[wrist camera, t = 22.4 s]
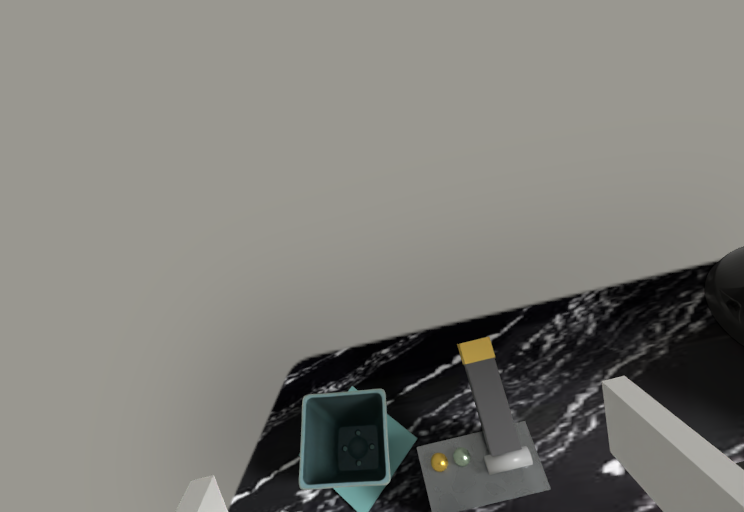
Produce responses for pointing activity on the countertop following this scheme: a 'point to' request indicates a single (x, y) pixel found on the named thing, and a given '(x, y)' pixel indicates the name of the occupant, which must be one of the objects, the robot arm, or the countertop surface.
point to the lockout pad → (398, 449)
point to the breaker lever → (493, 408)
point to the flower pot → (344, 440)
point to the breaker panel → (475, 473)
